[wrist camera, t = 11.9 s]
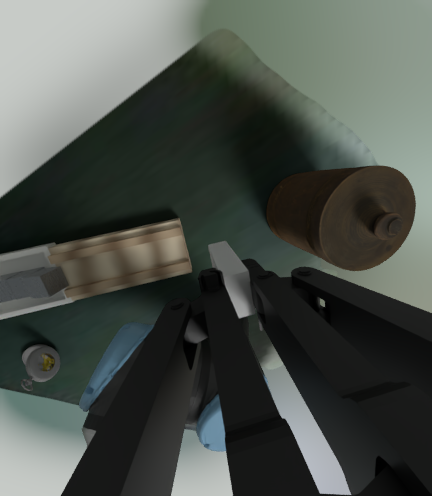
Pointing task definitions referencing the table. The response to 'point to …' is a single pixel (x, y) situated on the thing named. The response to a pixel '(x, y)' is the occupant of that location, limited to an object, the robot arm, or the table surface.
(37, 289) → the gray cube
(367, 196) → the wooden container
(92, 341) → the table surface
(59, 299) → the tray
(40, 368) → the pocket watch
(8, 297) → the grey cubic block
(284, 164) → the table surface
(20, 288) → the grey square block
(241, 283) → the robot arm
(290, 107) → the table surface
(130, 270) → the slot board
